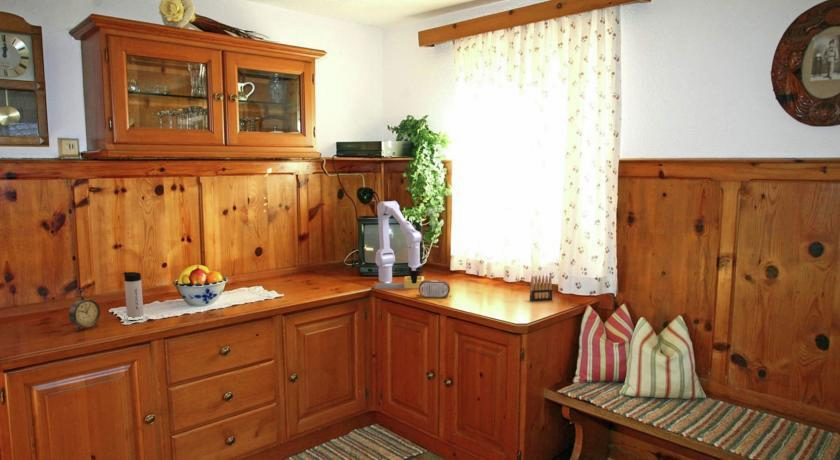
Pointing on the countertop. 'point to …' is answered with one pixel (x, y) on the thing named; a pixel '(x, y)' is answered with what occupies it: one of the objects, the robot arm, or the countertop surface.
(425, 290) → the tin
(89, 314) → the alarm clock
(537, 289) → the ammunition clip
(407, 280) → the link
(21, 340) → the countertop surface
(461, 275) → the countertop surface
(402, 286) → the keeper board
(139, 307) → the travel mug
